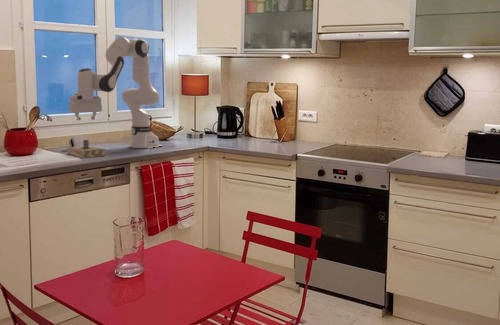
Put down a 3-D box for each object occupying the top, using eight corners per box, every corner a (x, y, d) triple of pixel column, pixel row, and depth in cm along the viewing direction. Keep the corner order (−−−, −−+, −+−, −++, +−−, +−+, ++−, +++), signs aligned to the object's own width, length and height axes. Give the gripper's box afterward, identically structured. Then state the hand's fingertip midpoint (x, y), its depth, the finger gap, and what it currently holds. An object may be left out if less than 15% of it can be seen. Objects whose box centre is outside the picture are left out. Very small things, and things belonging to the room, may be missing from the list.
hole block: (88, 152, 343) (88, 145, 343) (104, 155, 332) (104, 149, 331) (67, 153, 333) (67, 147, 333) (83, 157, 321) (83, 150, 321)
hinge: (78, 151, 345) (73, 136, 344) (72, 153, 346) (66, 138, 345) (90, 148, 362) (85, 133, 361) (84, 150, 363) (79, 135, 362)
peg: (87, 154, 335) (86, 139, 333) (89, 155, 333) (89, 140, 331) (82, 154, 332) (82, 139, 331) (85, 155, 330) (85, 140, 329)
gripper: (98, 96, 337) (98, 118, 339) (67, 96, 322) (67, 120, 324) (103, 96, 333) (104, 119, 335) (72, 96, 318) (73, 121, 320)
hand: (85, 119), depth 329 cm, fingers open, 8 cm apart
